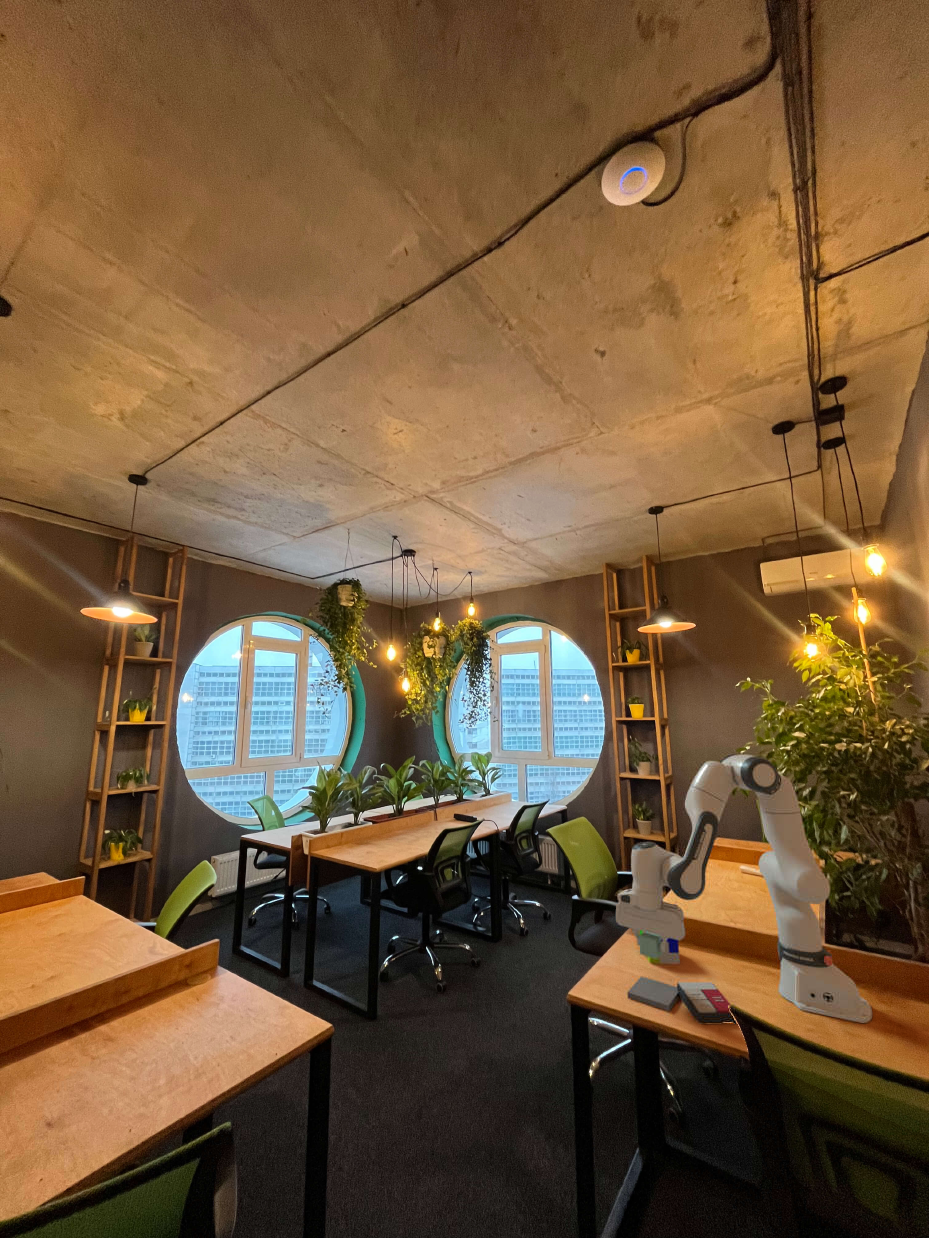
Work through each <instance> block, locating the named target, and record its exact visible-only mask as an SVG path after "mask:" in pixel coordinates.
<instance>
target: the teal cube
mask: <svg viewBox="0 0 929 1238" xmlns="http://www.w3.org/2000/svg"><path fill="white" fill-rule="evenodd" d="M639 935H640V934H639ZM639 941H640V945H639V955H641V956H644V957H645V956H648V957H652V958H655V959H657V958H658V957H659V956H660V955H661V954H662V951H659V950H658V944H659V943H662V941H661V936H660V935H656V934H652V933H648V932H643V933H642V934H641V935H640V936H639Z"/></svg>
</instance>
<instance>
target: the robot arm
mask: <svg viewBox="0 0 929 1238" xmlns="http://www.w3.org/2000/svg"><path fill="white" fill-rule="evenodd" d="M688 788H689V789H688V790H687V793H686V795H685V801H684V807H685V812H686V813H687V815H688V816H689V819H690V822H691V826H692V827H691V828H692V829H691V835H690V836H689V837H690V838H689V840H688V844H687V846H686V849H685V853H684V855H683V856H681V855H679V854H678V853H674V852H672V851H668V850H666V849H664V848H662V847H660V846H659V845H657V844H656V843H655V842H652V841H641V842H637V843H635V844H634V845H633V847H632V850H631V855H630V859H631V860H630V861H631V862H630V865H631V866H630V869H631V874H632V878H633V879H632V886H631V887H632V888H629V889H625V890H622V891H621V892H620V893H618V894H617V900H618V902H617V903H616V907H615V908H616V909H615V921H616V923H617V924H618V925H619V926H622V927H624V928H625V927H626V928H629V929H632V933H633V935H634V937H635V939H636V945H638V946H640V941H639V936H640V931H644V932H648V933H652V934H656V935H660V936H661V939H662V940H663V941H662V943H659V944H658V950H659V951H662V952H664V951H665V943H666V941H667V939H668V938H672V939H676V940H678V941H681V940H683V939H684V938H685V935H686V930H685V925H684V920H685V919H684V918H685V915H684V910H683V909H682V908H681V907H680V906H679V905H678V904H675V903H669V902H666V901H664V896H663V895H664V894H663V887H668V888H670V890H671V891H672V892H673V893H674V894H675V896H676V897H678V898H680V899H682V900H684V901H692V900H693V901H694V900H695V899H696V900H697V899H698V898H699V897H700V896H702V894H704V891H705V888H706V873H707V872H706V871H707V866H708V863H709V860H710V856H711V854H712V851H713V847H714V844H715V841H716V839H717V834H718V830H719V823H720V820H721V817H722V814H723V812H724V809H725V807H726V804H727V802H728V800H729V799H728V798H729V796H730V794H731V793H732V791H734V790H735V789H736V788H739V789H741V790H744V791H754V793H755V794H756V796H757V799H758V805H759V811H760V816H761V821H762V822H761V823H762V827H763V834H764V837H765V838H766V841H767V842H768V844H769V845H770V847H771V849H772V850H770V851H766V852H764V853H763V854H762V855H761V856H760V858H759V860H758V869H759V871H760V874H761V875H762V876H763V878H764V881H765V884H766V887H767V889H768V893H769V896H770V898H771V902H772V905H773V909H774V913H775V918H776V927H777V935H778V936H777V937H778V940H777V952H778V957H779V961H780V976H779V977H780V979H779V983H778V984H779V985H778V988H777V989H778V993H779V994H780V995H781V997H783V998H785V999H786V1000H788V1001H789V1002H791V1003H792V1004H794V1005H795V1006H796V1007H797V1008H798V1009H799V1010H801V1011H805V1012H808V1013H813V1014H818V1015H823V1016H828V1017H832V1018H838V1019H842V1020H847V1021H851V1022H855V1023H856V1022H857V1023H861V1024H866V1023H869V1022H870V1021H871V1020H872V1018H873V1011H872V1007H871V1005H870V1003H869V1002H868V1001H867V1000H866V999H864V998H863V997H861V995H860V991H859V989H858V987H857V985H856V983H855V982H854V980H853V979H852V978H851V977H849V976H848V975H846V973H844V972H843V971H842V970H841V969H840V968H838V967H837V966H836V965H835V964H833V959H832V953H831V951H830V949H828V950H827V949H825V947H823V944H822V937H821V928H820V922H819V918H818V916H817V914H816V913H815V911H814V910H813V907H812V906H811V905H812V904H813V905H819V904H822V903H824V902H825V901H827V900H828V898H829V895H830V892H831V886H830V883H829V880H828V878H827V877H826V876H825V875H824V874H823V871H822V870H821V868H820V867H819V865H818V863H817V860H816V858H815V856H814V854H813V851H812V850H811V848H810V846H809V845H810V844H809V842H808V839H807V837H806V834H805V828H804V823H803V818H802V814H801V809H800V804H799V800H798V797H797V793H796V791H795V789H794V786H793V784H792V782H791V780H790V779H789V778H788V777H786V776H785V775H783V774H779V772H778V770H777V768H776V767H775V765H774V764H773V763H772V762H771V761H770V760H768V759H766V758H763V757H761V756H758V755H757V756H756V755H753V754H746V753H745V754H736V753H733V754H730V755H726V756H725V757H723V758H722V759H721V760H720V761H715V760H707V761H706V762H704V763H703V765H701V767H700V768H699V770H698V771H697V772H696V775H695V776H694V778H693V779H692V782H691V783H690V786H689V787H688Z"/></svg>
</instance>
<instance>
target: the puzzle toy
mask: <svg viewBox="0 0 929 1238" xmlns="http://www.w3.org/2000/svg"><path fill="white" fill-rule="evenodd" d="M643 932H644V931H640V930H639V935H641V934H642V933H643ZM661 941H663V940H662V939H661ZM644 957H645V958H646V959H647V961H648V963H650V964H678V965H680V963H681V960H680V950H679V940H676V939H672V938H668V939H667V941H666V943H665V951H664V952H662V954H661V955H660V956H659V957H658V958H657V959H655V958H652V957H648V956H645V955H644Z"/></svg>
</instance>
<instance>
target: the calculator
mask: <svg viewBox="0 0 929 1238" xmlns="http://www.w3.org/2000/svg"><path fill="white" fill-rule="evenodd" d="M676 987H677V990H678V991H679V998H678V999H680V1000H681V1003H683V1004H684V1005H685V1006H686V1009H687V1010H688V1011H689V1012H690V1014H691V1015H692V1017H693V1018H694V1017H695V1018H694V1019H695V1021H696V1020H697V1021H698V1022H697V1021H696V1022H697V1023H698V1024H699V1023H723V1022H733V1023H735V1024H734V1025H737V1024H736V1021H735V1020H734V1018H733V1016H732V1015H731V1013H730V1012H729V1008H728V1005H732V1004H731V1003H730V1002H729V1001H728V999H727V998H726V996H724V994H723V993H722V992H721V991H720V990H719V989H718V988H717V986H716V985H715V984H714V983H713V982H709V981H707V982H706V981H704V982H695V981H694V982H693V981H691V982H686V981H685V982H677V983H676Z"/></svg>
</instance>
